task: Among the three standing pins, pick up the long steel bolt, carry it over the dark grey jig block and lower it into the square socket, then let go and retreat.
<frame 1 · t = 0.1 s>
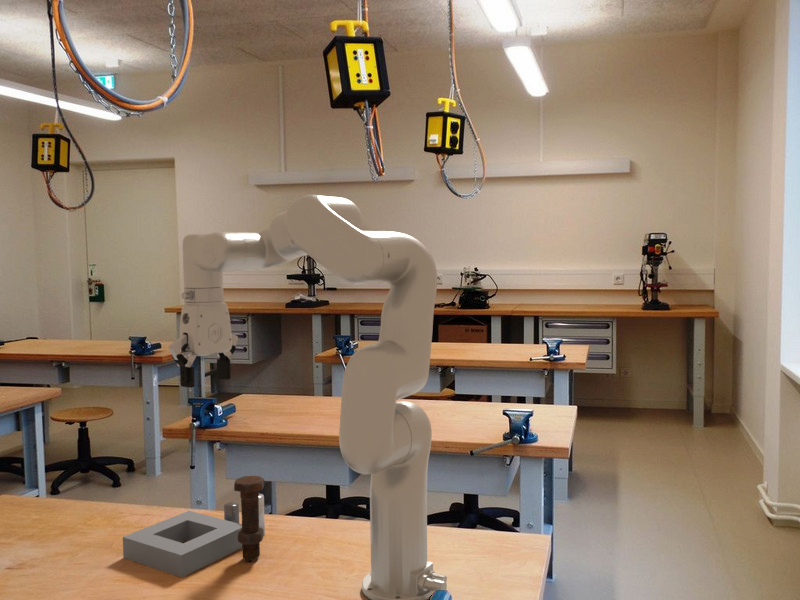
hand: (206, 382, 144), 31 cm above the workbench, tool pointing down, fingers open, 9 cm apart
bolt: (251, 559, 135), on the workbench
pin mid: (257, 535, 146), on the workbench
jig: (186, 551, 138), on the workbench
pin short: (232, 528, 150), on the workbench
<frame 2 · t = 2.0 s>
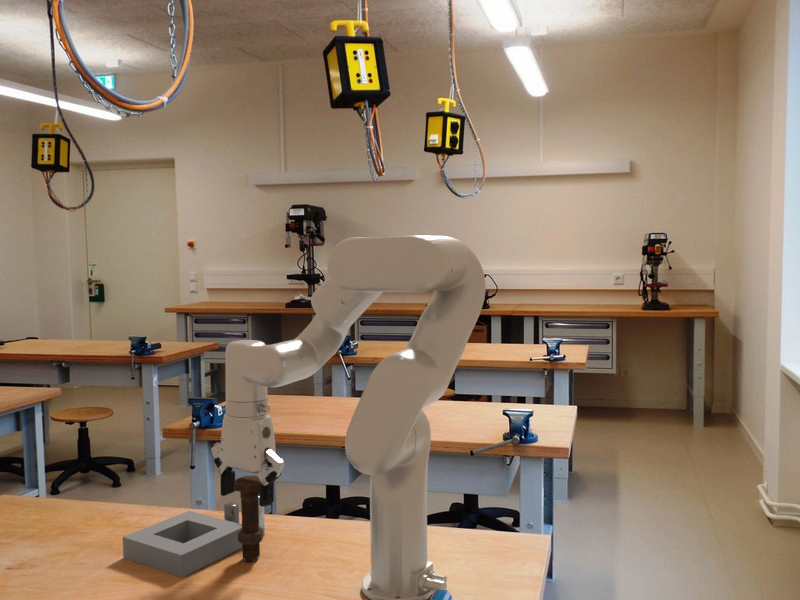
hand: (246, 498, 134), 11 cm above the workbench, tool pointing down, fingers open, 9 cm apart
nothing on the workbench moved.
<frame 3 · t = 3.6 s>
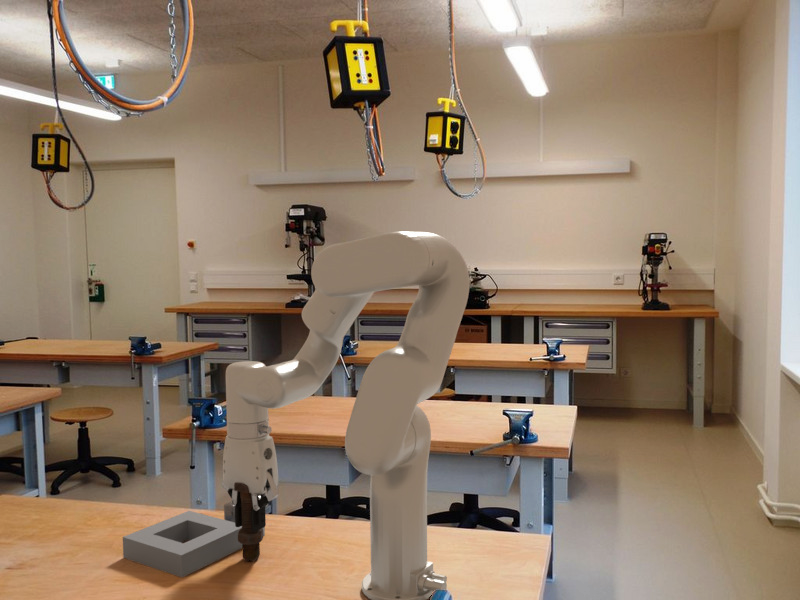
hand: (250, 526, 134), 6 cm above the workbench, tool pointing down, fingers closed on bolt, 3 cm apart
bolt: (251, 559, 135), on the workbench, touching gripper
everything else where it was.
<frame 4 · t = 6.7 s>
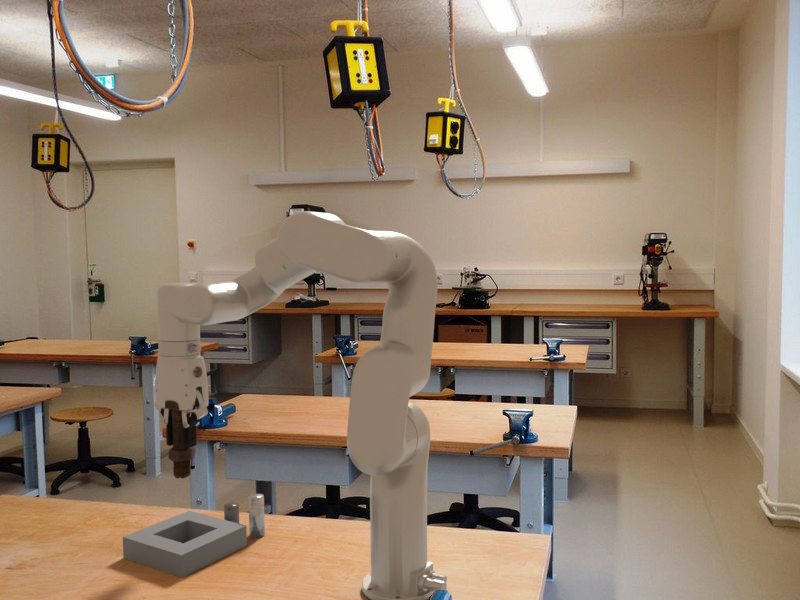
hand: (181, 444, 137), 21 cm above the workbench, tool pointing down, fingers closed on bolt, 3 cm apart
bolt: (182, 477, 137), point 14 cm above the workbench, touching gripper
everything else where it was.
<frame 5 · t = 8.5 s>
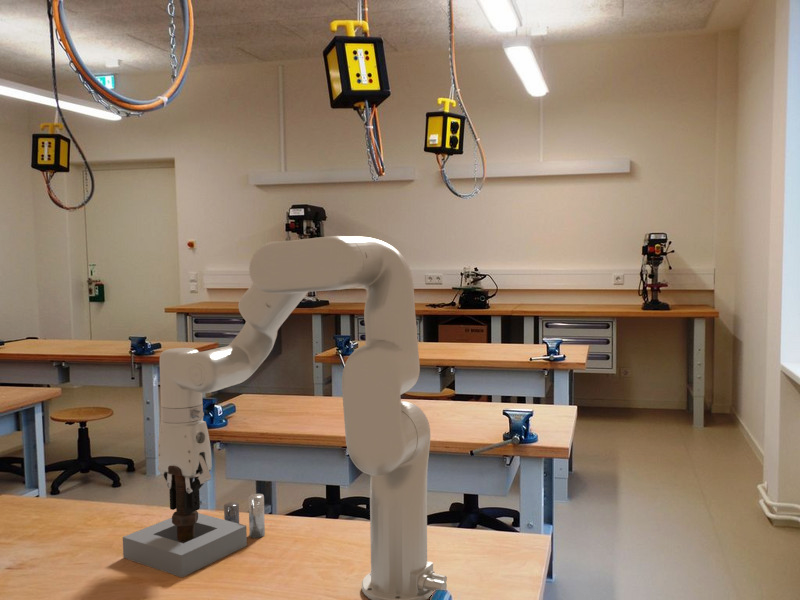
hand: (184, 508, 138), 8 cm above the workbench, tool pointing down, fingers closed on bolt, 3 cm apart
bolt: (185, 541, 138), point 2 cm above the workbench, touching gripper
everything else where it was.
when the fingers open (7 cm above the workbench, at t = 9.7 s): bolt stays where it is, resting in jig.
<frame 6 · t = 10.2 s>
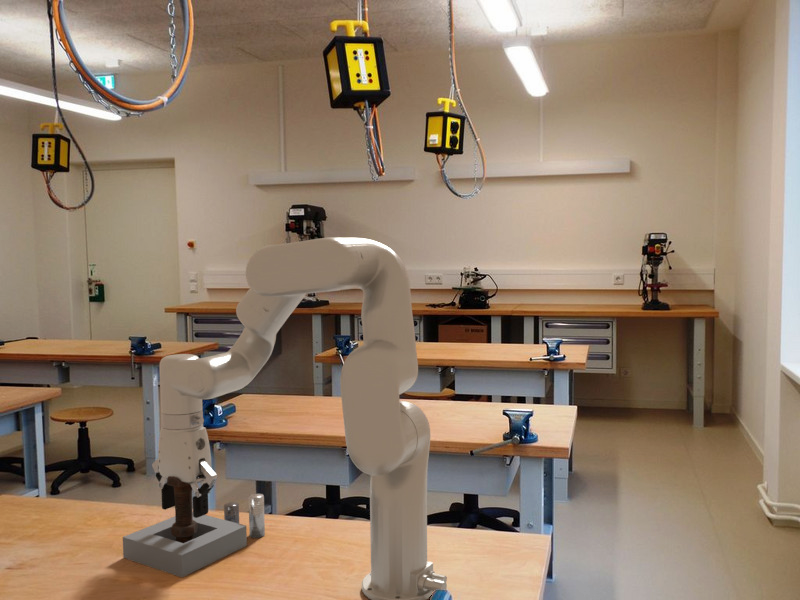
hand: (185, 510, 138), 8 cm above the workbench, tool pointing down, fingers open, 8 cm apart
bolt: (185, 552, 138), resting in jig
everything else where it was.
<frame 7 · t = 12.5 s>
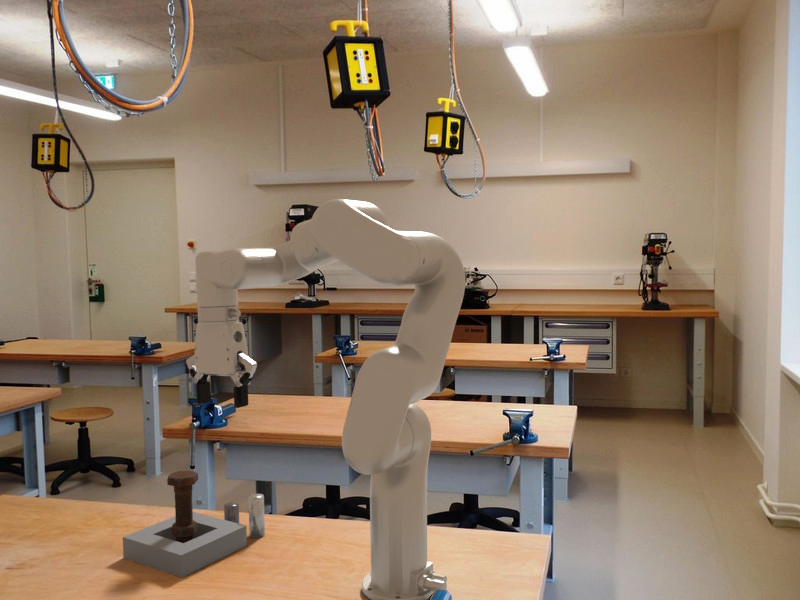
hand: (222, 404, 139), 28 cm above the workbench, tool pointing down, fingers open, 9 cm apart
nothing on the workbench moved.
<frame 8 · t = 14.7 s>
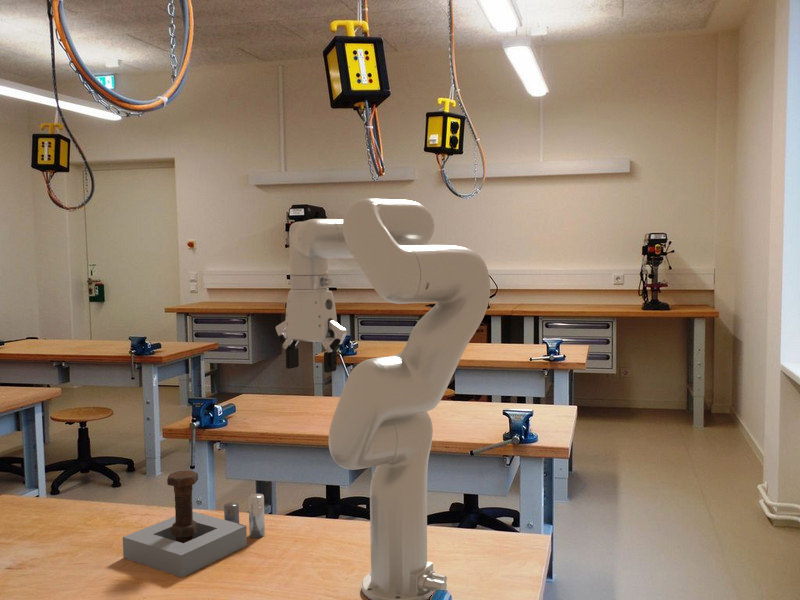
hand: (311, 369, 145), 33 cm above the workbench, tool pointing down, fingers open, 9 cm apart
nothing on the workbench moved.
at the end: bolt inside the target area on the jig (0.3 cm from its centre), point 0.0 cm above the jig's base; bolt tilted 0°; the gripper is holding nothing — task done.
